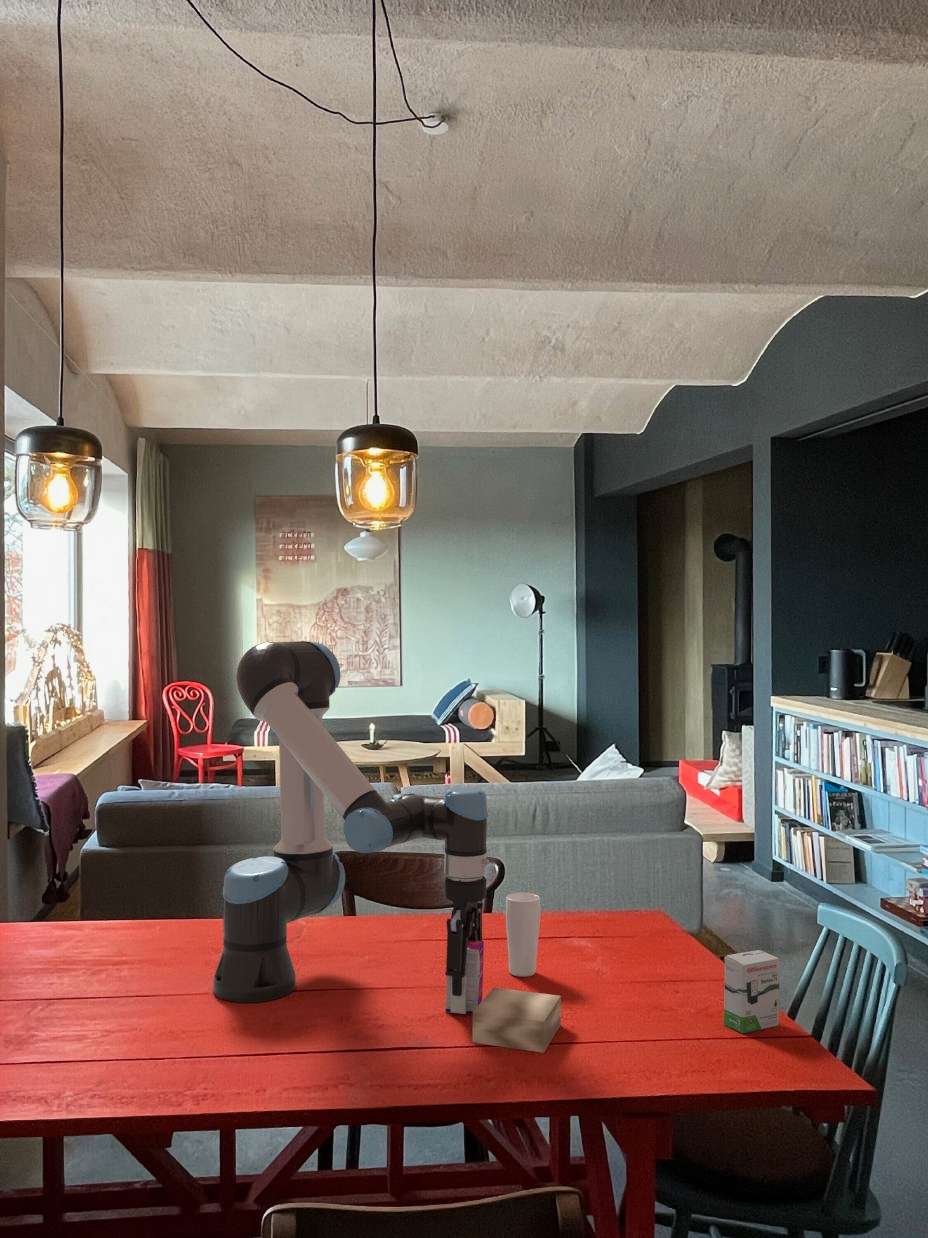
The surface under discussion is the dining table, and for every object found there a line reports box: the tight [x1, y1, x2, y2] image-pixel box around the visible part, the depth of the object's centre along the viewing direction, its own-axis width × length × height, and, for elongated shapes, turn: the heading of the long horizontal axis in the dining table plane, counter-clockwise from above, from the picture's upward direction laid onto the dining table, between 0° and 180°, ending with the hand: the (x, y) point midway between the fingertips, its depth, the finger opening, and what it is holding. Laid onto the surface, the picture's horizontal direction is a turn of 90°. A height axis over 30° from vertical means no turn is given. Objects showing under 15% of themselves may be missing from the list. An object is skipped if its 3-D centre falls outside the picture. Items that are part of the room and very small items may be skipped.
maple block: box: [472, 987, 562, 1054], centre depth 174 cm, size 12×12×5 cm
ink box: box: [723, 949, 781, 1034], centre depth 178 cm, size 9×5×12 cm, turn 117°
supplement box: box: [445, 940, 485, 1015], centre depth 185 cm, size 6×6×12 cm
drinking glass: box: [505, 892, 541, 978], centre depth 204 cm, size 7×7×15 cm
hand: (464, 1005), depth 185 cm, fingers closed on supplement box, 6 cm apart
